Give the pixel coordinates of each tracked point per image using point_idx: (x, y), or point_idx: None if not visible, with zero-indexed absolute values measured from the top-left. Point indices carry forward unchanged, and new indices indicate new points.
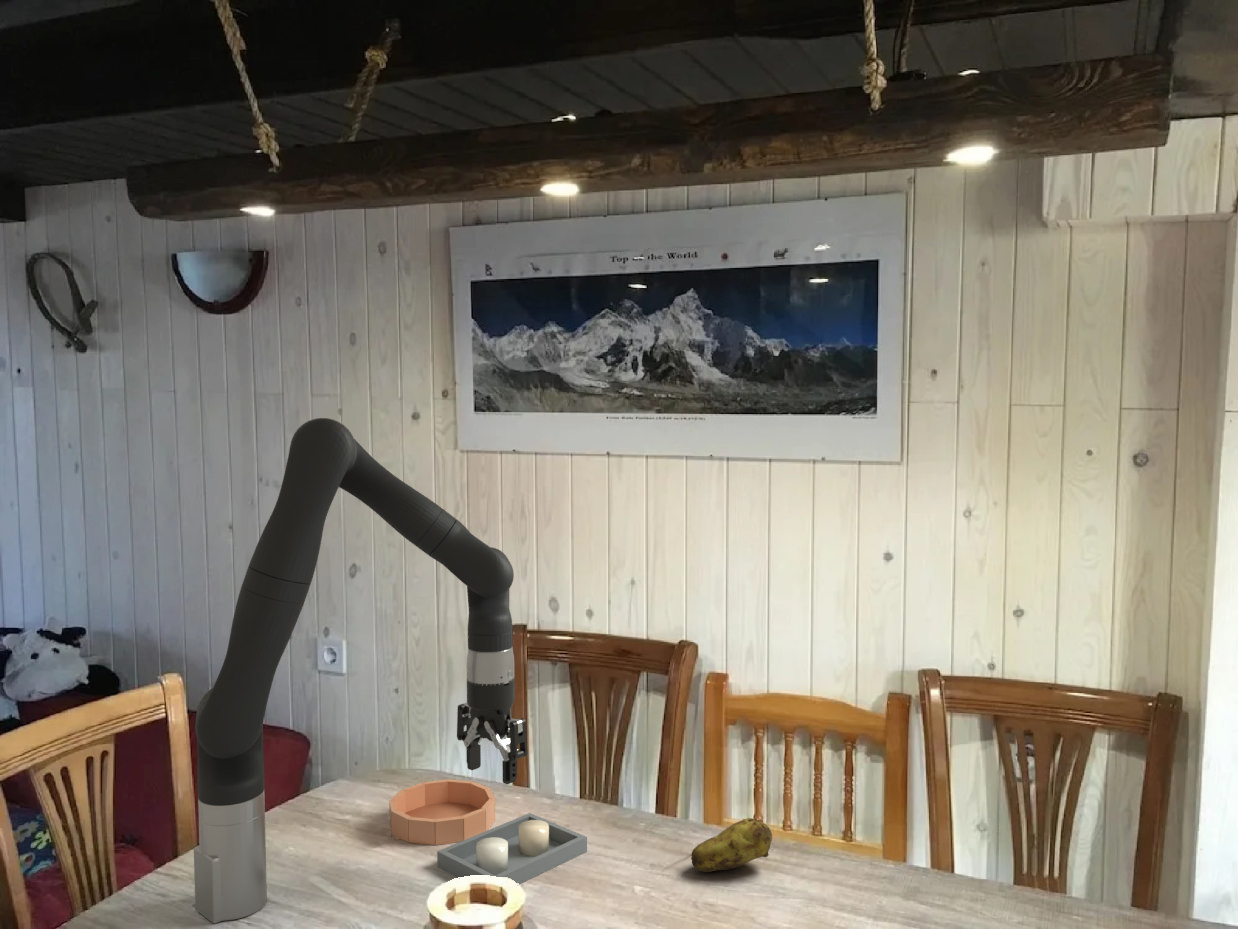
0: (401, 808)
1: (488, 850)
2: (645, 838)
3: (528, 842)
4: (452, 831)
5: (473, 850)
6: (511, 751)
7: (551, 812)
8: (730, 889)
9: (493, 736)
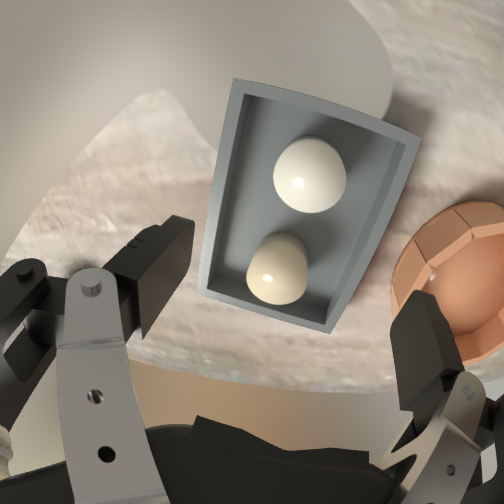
0: None
1: (299, 148)
2: (181, 334)
3: (272, 245)
4: (436, 237)
5: (376, 203)
6: (16, 297)
7: (328, 362)
8: (61, 261)
9: (100, 441)
